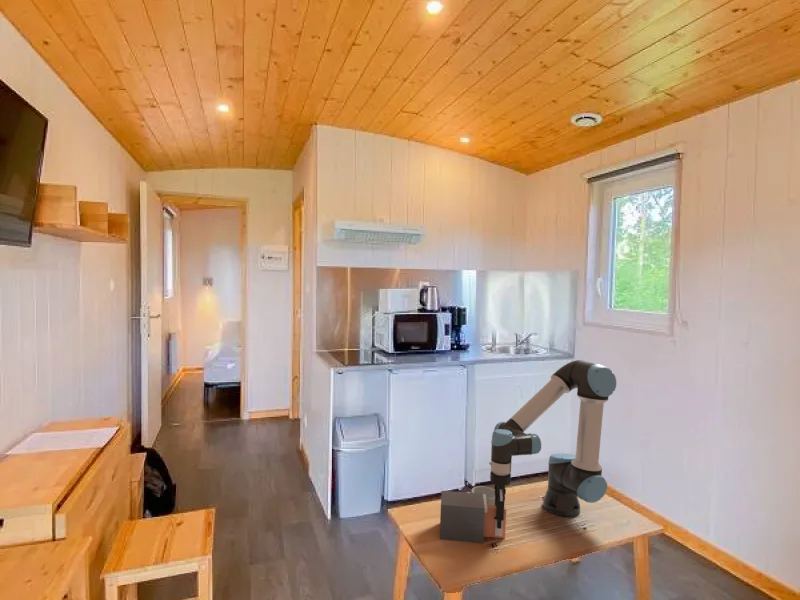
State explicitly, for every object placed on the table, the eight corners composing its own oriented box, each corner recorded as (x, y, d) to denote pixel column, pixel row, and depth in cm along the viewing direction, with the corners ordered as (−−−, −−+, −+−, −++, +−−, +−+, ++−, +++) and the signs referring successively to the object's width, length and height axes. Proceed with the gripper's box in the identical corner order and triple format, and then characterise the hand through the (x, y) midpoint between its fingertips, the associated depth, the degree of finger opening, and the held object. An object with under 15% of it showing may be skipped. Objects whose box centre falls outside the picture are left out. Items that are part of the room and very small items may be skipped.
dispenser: (484, 526, 181) (485, 494, 181) (486, 543, 170) (487, 508, 169) (440, 522, 183) (441, 490, 183) (439, 539, 172) (440, 504, 171)
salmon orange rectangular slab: (504, 535, 176) (505, 506, 176) (505, 538, 173) (506, 509, 173) (472, 531, 177) (473, 503, 177) (472, 535, 175) (473, 506, 175)
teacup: (495, 505, 200) (495, 486, 200) (498, 517, 189) (498, 498, 189) (462, 502, 202) (463, 484, 201) (463, 514, 191) (464, 495, 191)
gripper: (489, 463, 182) (486, 522, 183) (492, 479, 167) (489, 543, 168) (508, 464, 181) (506, 524, 182) (513, 481, 166) (510, 545, 167)
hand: (498, 533), depth 175 cm, fingers closed on salmon orange rectangular slab, 2 cm apart
